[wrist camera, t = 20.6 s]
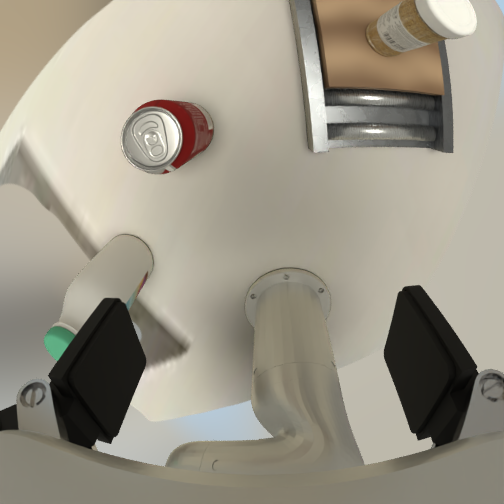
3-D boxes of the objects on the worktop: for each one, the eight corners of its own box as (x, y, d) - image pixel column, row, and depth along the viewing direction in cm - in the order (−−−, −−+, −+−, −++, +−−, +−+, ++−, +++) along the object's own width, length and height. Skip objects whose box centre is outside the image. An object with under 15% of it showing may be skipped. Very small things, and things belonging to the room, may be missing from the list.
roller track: (437, 147, 31) (457, 154, 26) (308, 148, 32) (315, 154, 28) (421, 8, 22) (439, -1, 17) (287, -6, 23) (291, -22, 19)
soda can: (203, 94, 30) (172, 85, 19) (222, 145, 33) (202, 161, 22) (152, 116, 31) (103, 121, 20) (172, 165, 34) (132, 190, 23)
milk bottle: (100, 238, 39) (19, 323, 21) (144, 228, 38) (65, 321, 20) (119, 282, 42) (57, 377, 24) (161, 276, 41) (107, 382, 23)
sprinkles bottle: (410, 47, 21) (488, 26, 9) (382, 64, 23) (456, 44, 11) (384, 14, 20) (450, -27, 8) (355, 30, 21) (414, -14, 9)
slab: (434, 95, 25) (444, 95, 23) (324, 88, 27) (329, 86, 24) (420, 8, 20) (429, 3, 18) (309, -6, 21) (312, -14, 19)
